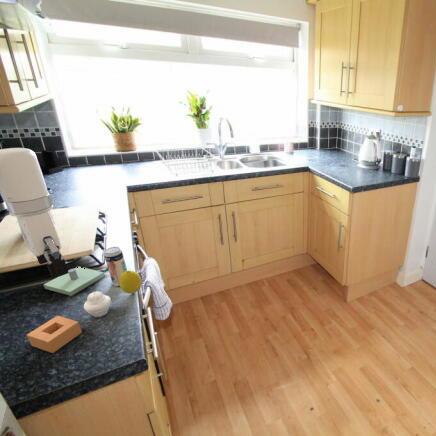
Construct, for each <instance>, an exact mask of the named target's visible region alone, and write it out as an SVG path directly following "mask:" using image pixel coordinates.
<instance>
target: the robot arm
mask: <svg viewBox="0 0 436 436" xmlns="http://www.w3.org/2000/svg"><path fill="white" fill-rule="evenodd" d="M42 171H43V170H42V168H41V166H40V162H39V160H38V157H37V155H36V153H35V152H34V151H33V150H32V149H30V148H25V147H9V148H0V193H1V195H2V198H3V200H4V203H5V205H6V208H7V210H8V214H9V215H10V216H11V217H16V221H17V223H18V226H19V230H20V233H21V235H22V238H23V241H24V244H25V246H26V248H27V249H28V250H29V251H30V252H31V253H32V254H33V255H34V256H35V257H36V259H37V262H38V264H39V265H43V264H44V265H45V264H46V266H47V269H48V271H49V274H50V276H51V278H52V279H55V278H57V277H60V276H62V275H65V274H68V273H69V272H68V270H69V269H68V266H67V264H66V260H65V258H64V256H63V255H62V253H61V249H62V244H61V240H60V237H59V235H58V231H57V229H56V226H55V223H54V221H53V218H52V216H51V213H50V211H51V210H52V209H53V208H54V204H53V201H52V198H51V196H50V193H49V189H48V187H47V183H46V181H45V177H44V175H43V174H44V173H43V172H42Z"/></svg>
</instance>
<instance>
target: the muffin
mask: <svg viewBox="0 0 436 436" xmlns="http://www.w3.org/2000/svg"><path fill="white" fill-rule="evenodd" d="M111 303H112V299H111V297H110V295H106V294H104V292H102V291H93V292H90V293H89V294H88V295H87V297H86V301H85V303H84V304H83V310H84V311H86V312H87V313H88V314H89V315H91V316H93V317H95V318H100V317H103V316H105V315H106V314H108V312H109V310H110V306H111Z"/></svg>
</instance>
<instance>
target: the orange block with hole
mask: <svg viewBox="0 0 436 436" xmlns="http://www.w3.org/2000/svg"><path fill="white" fill-rule="evenodd" d="M82 333H83V330H82V328H81V325H80V322H79V321H76V320H73V319H70V318H68V317H67V318H66V317H64V316H61V315H55V316H54V317H53V318H51V319H50V320H48V321H47V322H45V323H43V324H42V325H40V326H39V327H37V328H35V329H33V330H32V331H30V332H29V333H26V337H27V339H28V341H29V343H30V344H29V345H30V346H31V347H34V348H37V349H40V350H42V351H46V352H48V353H51V354H54V353H55V352H57V351H58V350H60V349H61V348H62V347H64V346H65V345H66V344H68V343H69V342H70V341H72V340H73V339H76V337H78V336H79V335H81V334H82Z"/></svg>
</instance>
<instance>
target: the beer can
mask: <svg viewBox="0 0 436 436" xmlns="http://www.w3.org/2000/svg"><path fill="white" fill-rule="evenodd" d="M103 257H104V260H105V264H106V266H107V271H108V273H109V276H110V281H111V283H112V284H111V285H113V286H115V287H120V277H121V275H122V274H123V273H124V272H126V271H128V269H127V264H126V261H125V257H124V253H123V250H122V249H121V248H120V247H119V246H111V247H108V248H106V249H105V250H104V252H103Z"/></svg>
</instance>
